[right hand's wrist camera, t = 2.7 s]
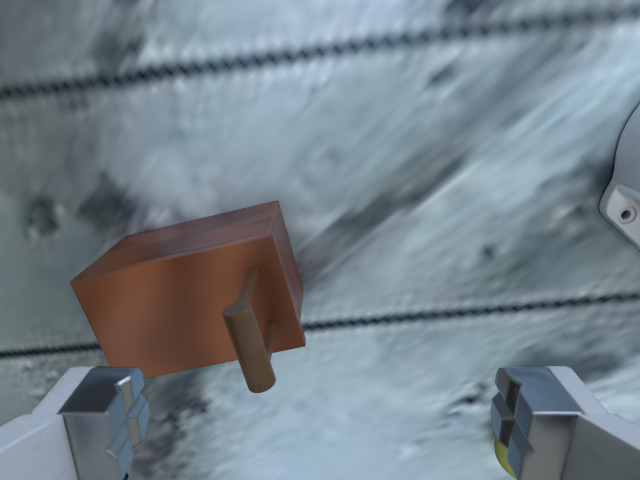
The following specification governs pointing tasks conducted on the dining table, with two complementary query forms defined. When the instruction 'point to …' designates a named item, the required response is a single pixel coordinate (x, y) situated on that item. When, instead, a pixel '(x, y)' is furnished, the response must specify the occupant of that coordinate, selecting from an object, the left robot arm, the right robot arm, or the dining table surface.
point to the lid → (196, 310)
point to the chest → (206, 240)
